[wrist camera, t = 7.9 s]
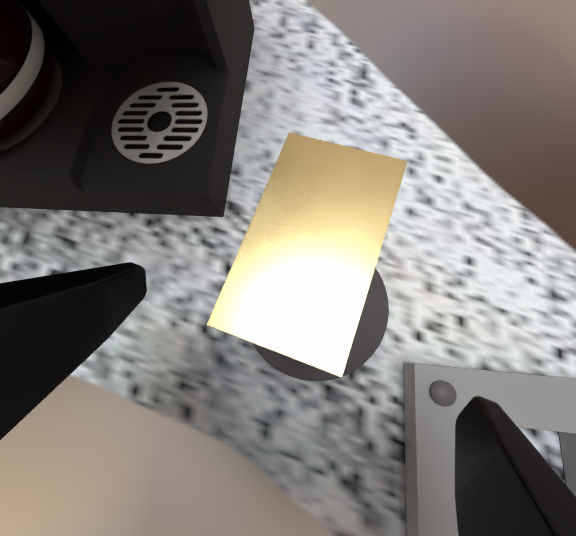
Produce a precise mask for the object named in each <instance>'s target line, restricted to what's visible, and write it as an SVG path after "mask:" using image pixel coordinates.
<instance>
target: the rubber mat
mask: <svg viewBox="0 0 576 536" xmlns="http://www.w3.org/2000/svg"><path fill="white" fill-rule="evenodd" d="M388 311H389V308H388V298H387V293H386V289H385V286H384V283H383V281H382V279H381V277H380V275H379V273H378V271H377V270H376V268H375V269H374V273H373V276H372V279H371V283H370V286H369V289H368V292H367V296H366V299H365V302H364V306H363V309H362V312H361V315H360V319H359V322H358V325H357V329H356V332H355V335H354V338H353V342H352V345H351V348H350V352H349V355H348V358H347V361H346V365H345V368H344V371H343V374H342V376H344V375H346V374H349V373H350V372H352V371H354V370H356V369H357V368H359V367H360V366H361V365H362V364H364V363H365V362H366V361H367V360H368V359H369V358H370V357H371V356H372V355H373V353H374V352H375V350H376V349H377V348H378V346H379V344H380V342H381V340H382V338H383V336H384V333H385V330H386V326H387V321H388ZM252 343H253V342H252ZM253 345H254V346H255V348H256V349H257V351H258V352H259V353H260V354H261V356H262V357H263V358H264V359H265V360H266V361H267V362H268V363H270V364H271V365H272V366H273V367H275V368H276V369H278V370H279V371H281V372H283V373H285V374H287V375H289V376H292V377H295V378H298V379H303V380H309V381H323V380H331V379H335V378H339V377H340V376H337V375H335V374H332V373H330V372H327V371H325V370H322V369H319V368H317V367H314V366H312V365H309V364H307V363H304V362H301V361H299V360H296V359H294V358H291V357H289V356H286V355H283V354H281V353H278V352H276V351H273V350H271V349H268V348H265V347H263V346H260V345H258V344H255V343H253Z"/></svg>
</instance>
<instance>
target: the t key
mask: <svg viewBox="0 0 576 536" xmlns="http://www.w3.org/2000/svg"><path fill="white" fill-rule="evenodd" d="M406 164H407V161H405V160H401V159H396V158H392V157H388V156H384V155H380V154H376V153H372V152H367V151H363V150H359V149H355V148H351V147H347V146H343V145H339V144H334V143H330V142H326V141H322V140H318V139H314V138H310V137H305V136H301V135H297V134H293V133H289V134H288V137H287V139H286V141H285V144H284V146H283V148H282V151H281V153H280V155H279V158H278V160H277V162H276V165H275V167H274V169H273V172H272V174H271V176H270V179H269V181H268V183H267V186H266V188H265V190H264V193H263V195H262V197H261V200H260V202H259V204H258V207H257V209H256V211H255V214H254V216H253V218H252V221H251V223H250V225H249V228H248V230H247V232H246V235H245V237H244V239H243V242H242V244H241V246H240V249H239V251H238V253H237V256H236V258H235V260H234V263H233V265H232V268H231V270H230V272H229V275H228V277H227V279H226V282H225V284H224V286H223V289H222V291H221V293H220V296H219V298H218V300H217V303H216V305H215V307H214V310H213V312H212V314H211V317H210V319H209V321H208V324H207V325H209V326H211V327H214V328H217V329H219V330H222V331H224V332H227V333H229V334H232V335H235V336H237V337H240V338H242V339H245V340H247V341H250V342H253V343H255V344H258V345H260V346H263V347H265V348H268V349H271V350H273V351H276V352H278V353H281V354H283V355H286V356H289V357H291V358H294V359H296V360H299V361H301V362H304V363H307V364H309V365H312V366H314V367H317V368H319V369H322V370H325V371H327V372H330V373H332V374H335V375H337V376H340V377H342V374H343V371H344V368H345V365H346V361H347V358H348V355H349V352H350V348H351V345H352V342H353V338H354V335H355V332H356V329H357V325H358V322H359V319H360V315H361V312H362V309H363V306H364V302H365V299H366V296H367V292H368V289H369V286H370V283H371V279H372V276H373V273H374V269H375V266H376V263H377V260H378V256H379V253H380V250H381V246H382V243H383V240H384V237H385V233H386V230H387V227H388V223H389V220H390V217H391V214H392V210H393V207H394V204H395V201H396V197H397V194H398V191H399V187H400V184H401V181H402V178H403V174H404V171H405V168H406Z"/></svg>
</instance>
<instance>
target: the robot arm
mask: <svg viewBox="0 0 576 536" xmlns="http://www.w3.org/2000/svg"><path fill="white" fill-rule="evenodd" d="M146 292H147V286H146V272H145V269H144V268H143V267H142V266H140V265H137V264H134V263H130V262H129V263H122V264H116V265H110V266H104V267H98V268H92V269H86V270H79V271H73V272H67V273H61V274H55V275H49V276H43V277H37V278H31V279H24V280H18V281H12V282H6V283H0V440H1V439H2V438H3V437H4V436H5V435H6V434H7V433H8V432H9V431H10V430H11V429H13V428H14V427H15V426H16V425H17V424H18V423H19V422H20V421H21V420H22V419H23V418H24V417H25V416H26V415H27V414H29V413H30V412H31V411H32V410H33V409H34V408H35V407H36V406H37V405H38V404H39V403H40V402H41V401H42V400H43V399H44V398H46V397H47V396H48V395H49V394H50V393H51V392H52V391H53V390H54V389H55V388H56V387H57V386H58V385H59V384H60V383H61V382H62V381H64V380H65V379H66V378H67V377H68V376H69V375H70V374H71V373H72V372H73V371H74V370H75V369H76V368H77V367H78V366H80V365H81V364H82V363H83V362H84V361H85V360H86V359H87V358H88V357H89V356H90V355H91V354H92V353H93V352H94V351H95V350H97V349H98V348H99V347H100V346H101V345H102V344H103V343H104V342H105V341H106V340H107V339H108V338H109V337H110V336H111V335H112V334H113V332H114V331H115V330H116V329H117V328H118V327H119V326H120V325H121V323H122V322H123V321H124V320H125V319H126V318H127V317H128V315H129V314H130V313H131V312H132V311H133V310H134V309H135V307H136V306H137V305H138V304H139V303H140V302H141V301H142V300H143V298H144V297H145V295H146ZM454 484H455V506H456V516H457V527H458V536H576V496H575V495H574V494H573V492H572V491H571V490H570V489H569V488H568V486H567V485H566V484H565V483H564V482H563V480H562V479H561V478H560V477H559V476H558V475H557V473H556V472H555V471H554V470H553V469H552V467H551V466H550V465H549V464H548V463H547V461H546V460H545V459H544V458H543V457H542V455H541V454H540V453H539V452H538V451H537V449H536V448H535V447H534V446H533V445H532V443H531V442H530V441H529V440H528V439H527V438H526V436H525V435H524V434H523V433H522V432H521V430H520V429H519V428H518V427H517V426H516V424H515V423H514V422H513V421H512V420H511V418H510V417H509V416H508V415H507V414H506V412H505V411H504V410H503V409H502V408H501V406H500V405H499V404H498V403H496V402H495V401H492V400H490V399H487V398H485V397H482V396H474V397H473V398H472V399H471V400H470V401H469V402H468V404H467V405H466V406H465V407H464V408H463V410H462V411H461V412H460V413H459V415H458V416H457V419H456V423H455V478H454Z"/></svg>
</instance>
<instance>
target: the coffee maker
mask: <svg viewBox="0 0 576 536" xmlns="http://www.w3.org/2000/svg"><path fill="white" fill-rule="evenodd" d="M253 33H254V24H253V19H252V14H251V8H250V3H249V0H0V207H16V208H38V209H61V210H84V211H106V212H129V213H152V214H174V215H197V216H219V217H222V216H223V215H224V209H225V202H226V196H227V190H228V184H229V178H230V172H231V166H232V160H233V154H234V148H235V142H236V136H237V130H238V124H239V118H240V111H241V105H242V99H243V93H244V87H245V81H246V75H247V69H248V63H249V57H250V51H251V45H252V39H253Z"/></svg>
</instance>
